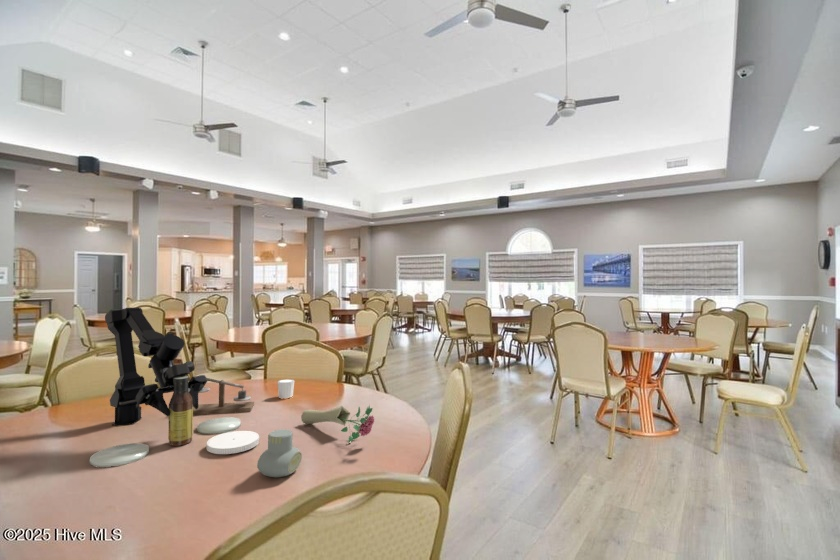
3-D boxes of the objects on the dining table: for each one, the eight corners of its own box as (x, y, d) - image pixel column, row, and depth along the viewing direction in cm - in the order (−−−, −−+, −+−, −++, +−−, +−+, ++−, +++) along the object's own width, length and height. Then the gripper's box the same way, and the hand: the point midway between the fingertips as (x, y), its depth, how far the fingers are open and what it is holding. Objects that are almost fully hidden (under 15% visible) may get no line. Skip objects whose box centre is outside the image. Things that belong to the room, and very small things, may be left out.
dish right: (191, 435, 127) (191, 431, 127) (203, 422, 140) (203, 418, 140) (236, 432, 130) (236, 428, 130) (244, 419, 143) (244, 416, 143)
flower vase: (318, 444, 140) (391, 446, 119) (287, 443, 132) (360, 445, 111) (322, 408, 145) (393, 405, 124) (293, 405, 136) (364, 400, 115)
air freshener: (284, 484, 97) (284, 442, 97) (252, 481, 98) (253, 439, 98) (304, 464, 107) (305, 426, 108) (276, 461, 109) (276, 424, 109)
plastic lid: (206, 461, 109) (206, 452, 109) (206, 443, 122) (206, 435, 122) (261, 452, 116) (261, 443, 116) (256, 436, 128) (256, 428, 128)
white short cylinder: (289, 400, 168) (289, 383, 168) (274, 399, 169) (274, 382, 169) (297, 395, 174) (297, 379, 174) (282, 394, 176) (283, 378, 176)
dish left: (78, 469, 103) (78, 464, 103) (105, 449, 116) (105, 445, 116) (136, 465, 106) (136, 460, 106) (156, 445, 119) (156, 441, 119)
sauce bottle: (175, 439, 124) (176, 374, 124) (196, 438, 124) (197, 374, 125) (163, 447, 117) (164, 379, 118) (185, 447, 118) (187, 378, 118)
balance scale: (185, 415, 147) (186, 379, 147) (192, 408, 154) (193, 374, 155) (250, 411, 152) (251, 377, 152) (254, 405, 159) (254, 372, 160)
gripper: (141, 358, 115) (160, 403, 109) (205, 349, 131) (224, 388, 125) (127, 382, 119) (145, 426, 113) (191, 371, 135) (209, 409, 129)
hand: (183, 411), depth 120 cm, fingers open, 8 cm apart
